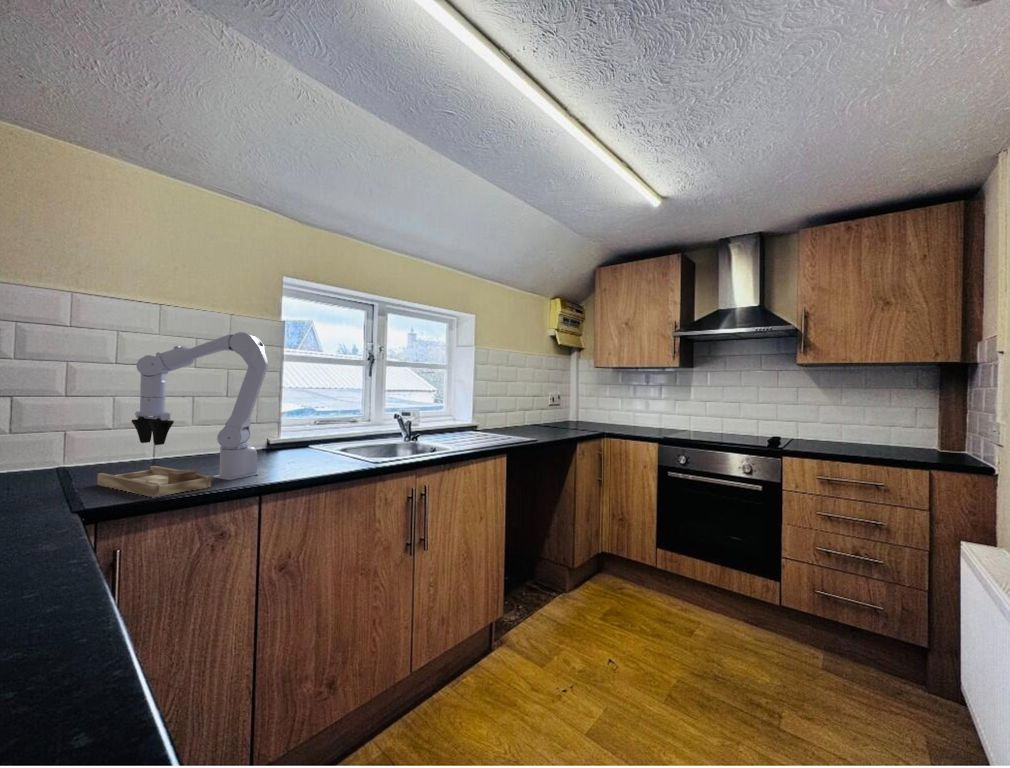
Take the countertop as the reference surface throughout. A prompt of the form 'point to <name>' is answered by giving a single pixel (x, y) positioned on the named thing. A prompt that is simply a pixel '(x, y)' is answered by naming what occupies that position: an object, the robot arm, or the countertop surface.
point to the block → (181, 476)
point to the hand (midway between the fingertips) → (152, 443)
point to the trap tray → (152, 482)
